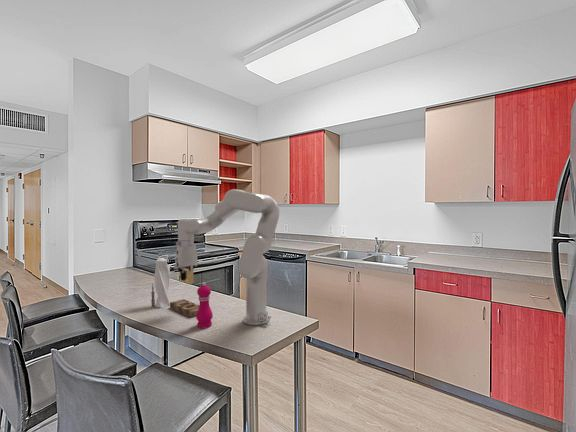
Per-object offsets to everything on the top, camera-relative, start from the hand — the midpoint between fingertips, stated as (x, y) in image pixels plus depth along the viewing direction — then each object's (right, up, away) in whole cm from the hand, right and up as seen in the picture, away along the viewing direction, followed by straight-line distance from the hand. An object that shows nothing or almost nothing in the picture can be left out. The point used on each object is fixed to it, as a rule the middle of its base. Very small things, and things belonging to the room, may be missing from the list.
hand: (186, 279), depth 156 cm
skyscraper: (-18, -18, +13) cm, 28 cm away
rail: (-1, -18, +5) cm, 18 cm away
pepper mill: (+13, -18, -15) cm, 27 cm away
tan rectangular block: (0, -2, 0) cm, 2 cm away
